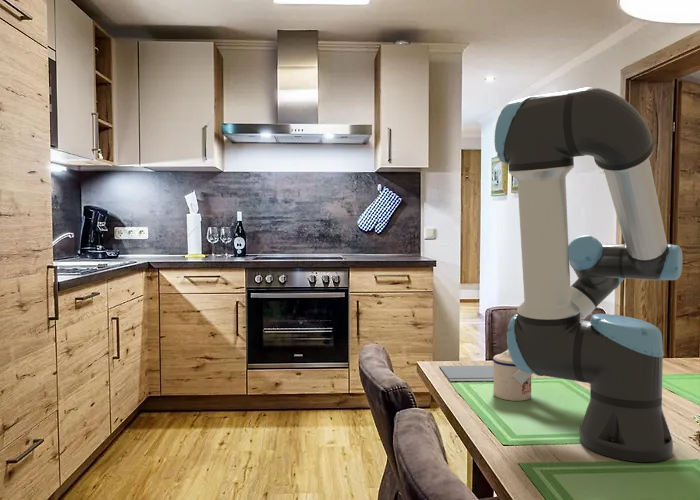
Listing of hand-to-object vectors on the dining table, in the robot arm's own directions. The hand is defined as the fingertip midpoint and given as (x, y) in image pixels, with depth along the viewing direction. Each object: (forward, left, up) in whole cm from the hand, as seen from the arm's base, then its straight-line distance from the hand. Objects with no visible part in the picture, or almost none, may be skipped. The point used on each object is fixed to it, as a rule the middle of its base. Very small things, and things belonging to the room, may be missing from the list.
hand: (507, 372), depth 130 cm
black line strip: (+12, +1, -5) cm, 13 cm away
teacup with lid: (0, -1, -5) cm, 6 cm away
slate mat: (+20, +2, -5) cm, 20 cm away
